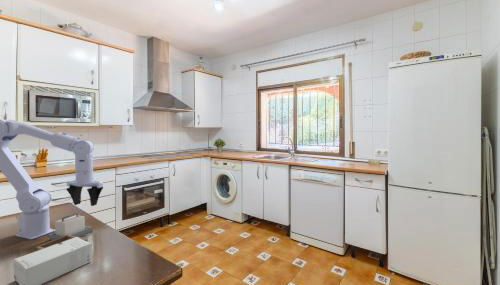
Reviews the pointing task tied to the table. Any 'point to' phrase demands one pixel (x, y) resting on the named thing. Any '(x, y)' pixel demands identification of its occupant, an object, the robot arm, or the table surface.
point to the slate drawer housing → (78, 234)
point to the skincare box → (51, 261)
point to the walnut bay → (56, 242)
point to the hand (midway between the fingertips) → (85, 204)
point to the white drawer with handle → (70, 225)
